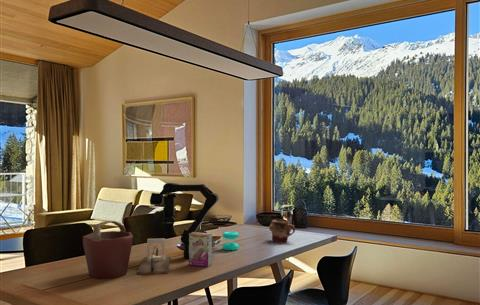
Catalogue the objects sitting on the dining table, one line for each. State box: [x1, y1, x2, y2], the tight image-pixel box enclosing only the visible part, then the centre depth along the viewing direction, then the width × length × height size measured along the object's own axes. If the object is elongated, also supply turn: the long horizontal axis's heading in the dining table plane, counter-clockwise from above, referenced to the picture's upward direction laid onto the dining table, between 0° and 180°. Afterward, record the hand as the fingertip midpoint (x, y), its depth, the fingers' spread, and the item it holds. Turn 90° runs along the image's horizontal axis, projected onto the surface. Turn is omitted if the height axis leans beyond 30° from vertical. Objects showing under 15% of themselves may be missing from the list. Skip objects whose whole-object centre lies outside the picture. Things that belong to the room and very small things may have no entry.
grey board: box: [136, 255, 171, 275], centre depth 224 cm, size 14×31×1 cm, turn 6°
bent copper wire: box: [151, 245, 159, 271], centre depth 223 cm, size 1×29×9 cm, turn 6°
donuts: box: [221, 231, 240, 251], centre depth 265 cm, size 10×10×10 cm
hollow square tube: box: [146, 237, 166, 261], centre depth 232 cm, size 9×5×11 cm, turn 96°
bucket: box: [82, 220, 134, 280], centre depth 208 cm, size 24×22×25 cm
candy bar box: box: [188, 231, 213, 268], centre depth 226 cm, size 11×5×16 cm, turn 71°
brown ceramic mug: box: [268, 219, 296, 243], centre depth 290 cm, size 20×12×14 cm, turn 56°
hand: (168, 233), depth 244 cm, fingers open, 9 cm apart
